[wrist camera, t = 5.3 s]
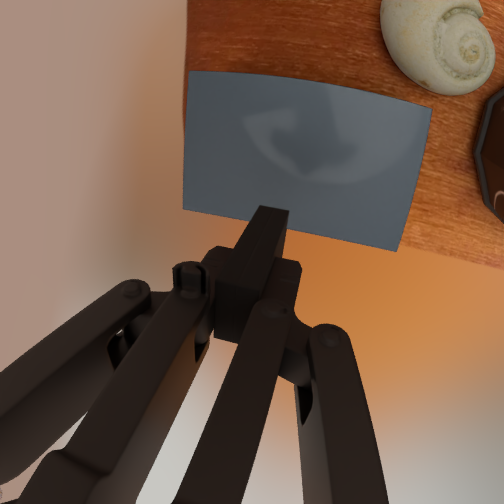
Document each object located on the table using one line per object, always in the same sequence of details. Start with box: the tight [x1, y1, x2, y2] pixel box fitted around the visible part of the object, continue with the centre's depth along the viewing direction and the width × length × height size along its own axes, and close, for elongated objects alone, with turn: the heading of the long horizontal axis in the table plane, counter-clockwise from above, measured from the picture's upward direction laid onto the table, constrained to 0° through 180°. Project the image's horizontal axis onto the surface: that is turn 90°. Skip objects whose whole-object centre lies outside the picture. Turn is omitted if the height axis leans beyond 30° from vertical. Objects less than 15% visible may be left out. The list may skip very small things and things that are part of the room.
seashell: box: [380, 0, 495, 96], centre depth 19 cm, size 13×8×10 cm
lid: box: [183, 71, 432, 252], centre depth 23 cm, size 12×18×1 cm, turn 85°
